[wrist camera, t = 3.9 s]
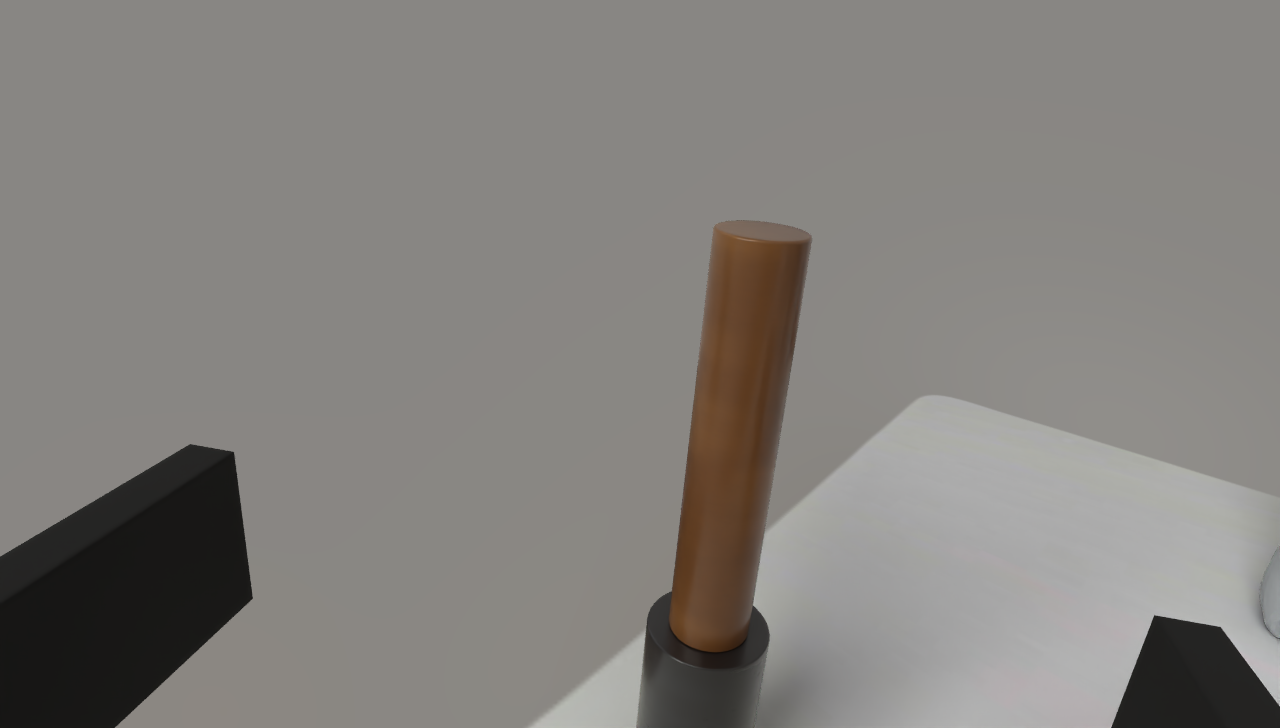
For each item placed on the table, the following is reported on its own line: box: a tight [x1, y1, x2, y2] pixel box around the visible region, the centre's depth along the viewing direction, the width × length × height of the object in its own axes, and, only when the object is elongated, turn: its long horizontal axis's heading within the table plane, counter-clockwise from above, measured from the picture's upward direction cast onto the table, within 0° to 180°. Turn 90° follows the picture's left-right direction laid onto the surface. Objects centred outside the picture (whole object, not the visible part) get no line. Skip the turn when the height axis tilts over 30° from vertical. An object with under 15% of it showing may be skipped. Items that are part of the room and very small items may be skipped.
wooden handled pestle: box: [636, 220, 812, 728], centre depth 24 cm, size 4×4×20 cm
